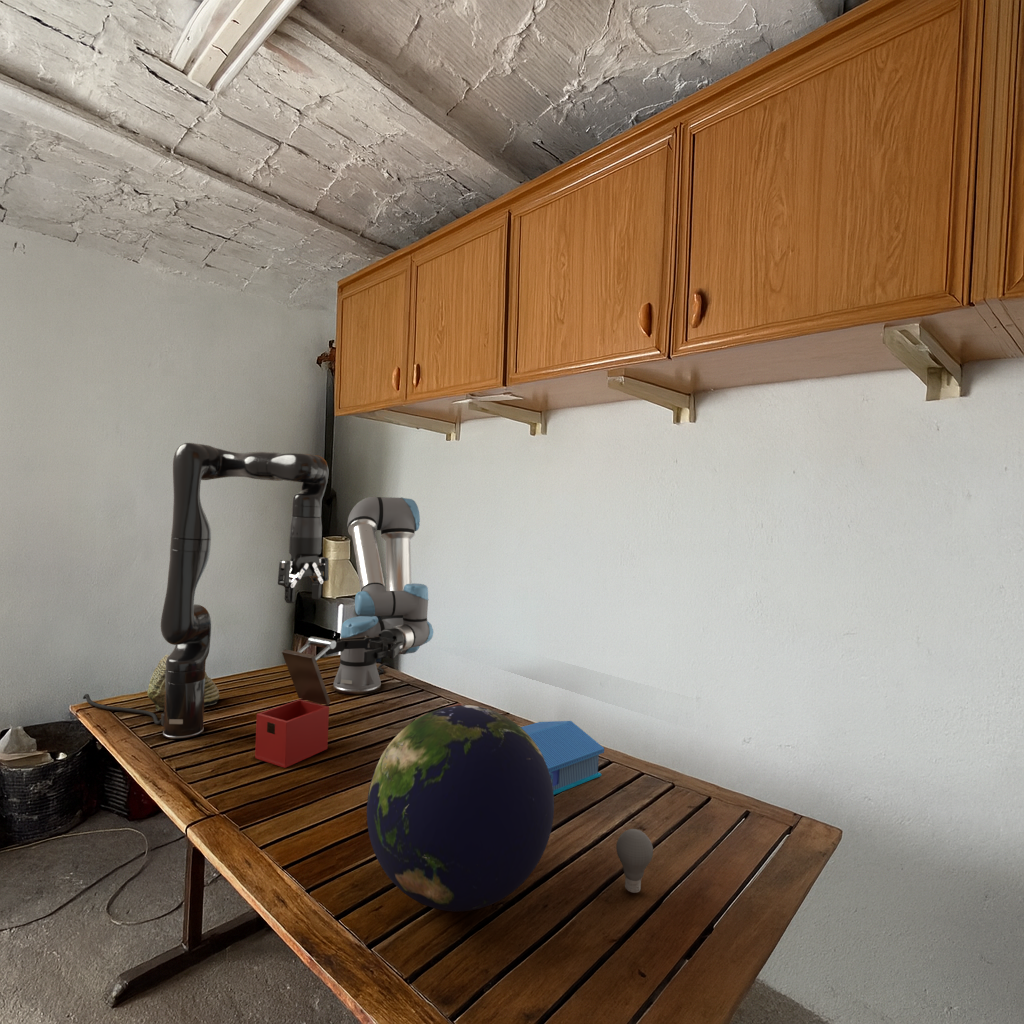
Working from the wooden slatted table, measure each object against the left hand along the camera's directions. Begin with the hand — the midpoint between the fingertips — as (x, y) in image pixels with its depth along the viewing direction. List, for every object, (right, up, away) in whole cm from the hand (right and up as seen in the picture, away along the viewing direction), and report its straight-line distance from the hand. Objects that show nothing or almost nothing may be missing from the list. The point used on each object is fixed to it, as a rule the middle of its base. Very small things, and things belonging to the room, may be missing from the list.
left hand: (303, 600), depth 156 cm
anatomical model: (+31, -38, +26) cm, 56 cm away
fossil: (-45, -35, +29) cm, 64 cm away
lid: (0, -20, +2) cm, 20 cm away
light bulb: (+72, -42, -50) cm, 97 cm away
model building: (+52, -40, -13) cm, 67 cm away
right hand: (+7, -16, +14) cm, 23 cm away
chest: (-3, -37, -1) cm, 37 cm away
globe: (+43, -40, -53) cm, 79 cm away
